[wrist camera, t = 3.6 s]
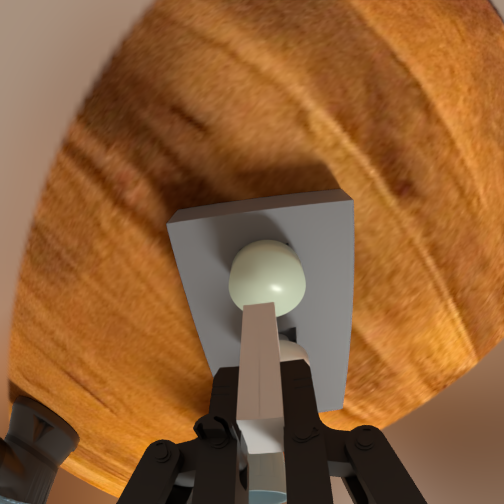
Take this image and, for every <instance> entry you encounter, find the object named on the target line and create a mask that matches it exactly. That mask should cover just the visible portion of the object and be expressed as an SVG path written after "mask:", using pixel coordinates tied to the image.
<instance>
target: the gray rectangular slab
mask: <svg viewBox="0 0 504 504" xmlns="http://www.w3.org/2000/svg"><path fill="white" fill-rule="evenodd" d="M166 225H167V229H168V233H169V237H170V241H171V244H172V248H173V252H174V255H175V259H176V263H177V266H178V270H179V273H180V277H181V280H182V284H183V287H184V290H185V294H186V297H187V300H188V303H189V307H190V310H191V313H192V316H193V319H194V322H195V326H196V329H197V332H198V335H199V338H200V341H201V344H202V347H203V350H204V352H205V355H206V358H207V361H208V364H209V367H210V369H211V372H212V375H213V378H214V376H215V374H216V373H217V371H218V370H219V368H220V367H235V366H240V350H241V334H242V318H243V311H242V310H241V309H240V308H239V307H238V306H237V305H236V304H235V303H234V301H233V300H232V298H231V296H230V293H229V278H230V273H231V267H232V263H233V260H234V258H235V256H236V255H237V253H238V252H239V251H240V250H241V249H242V248H244V247H245V246H246V245H248V244H250V243H252V242H255V241H259V240H275V241H279V242H282V243H284V244H286V245H288V246H289V247H290V248H292V249H293V250H294V251H295V252H296V254H297V255H298V257H299V259H300V261H301V264H302V268H303V272H304V276H305V281H306V288H305V293H304V296H303V298H302V300H301V301H300V303H299V304H298V305H297V306H296V307H295V308H294V309H293V310H291V311H290V312H288V313H286V314H284V315H281V316H278V317H276V321H277V329H278V334H283V335H285V336H287V337H288V339H289V341H291V342H294V343H297V344H299V345H300V346H302V347H303V348H304V349H305V350H306V352H307V354H308V357H309V363H310V369H311V375H312V380H313V386H314V391H315V397H316V403H317V409H318V413H319V412H326V411H332V410H338V409H342V408H343V401H344V393H345V386H346V377H347V369H348V359H349V349H350V337H351V324H352V307H353V285H354V201H353V199H352V198H351V197H350V196H349V195H348V194H347V193H345V192H344V191H343V190H342V189H334V190H323V191H313V192H304V193H295V194H286V195H278V196H270V197H262V198H254V199H246V200H239V201H232V202H225V203H218V204H211V205H205V206H198V207H192V208H186V209H180V210H177V211H176V213H175V214H174V215H173V216H172V217H171V219H170V220H169V221H168V222H167V223H166Z"/></svg>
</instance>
